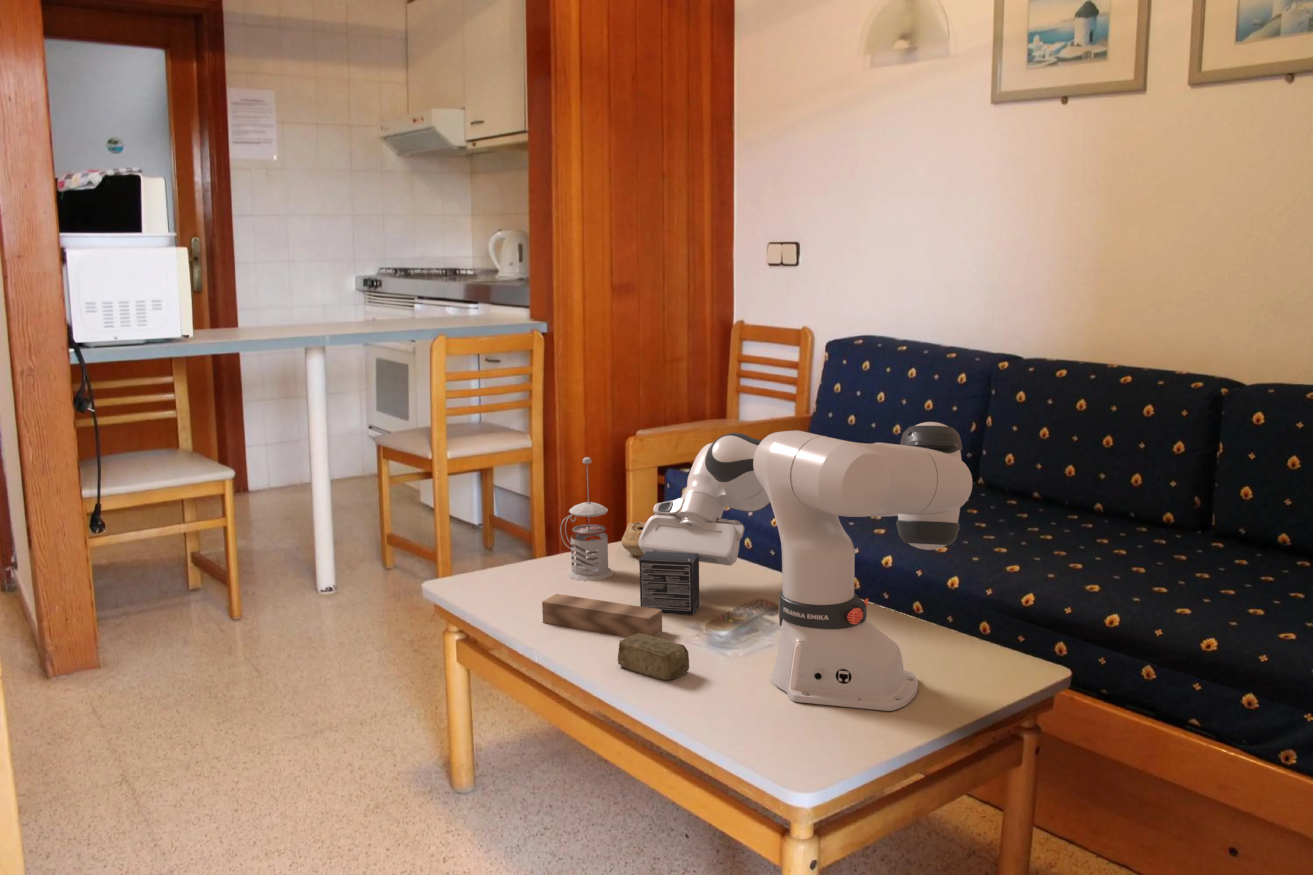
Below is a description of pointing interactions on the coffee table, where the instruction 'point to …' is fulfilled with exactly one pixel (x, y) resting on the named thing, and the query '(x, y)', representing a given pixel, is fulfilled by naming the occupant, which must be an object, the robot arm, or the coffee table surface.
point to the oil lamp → (633, 538)
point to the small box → (670, 582)
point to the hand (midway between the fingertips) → (677, 577)
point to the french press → (588, 542)
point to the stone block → (653, 656)
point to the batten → (601, 616)
